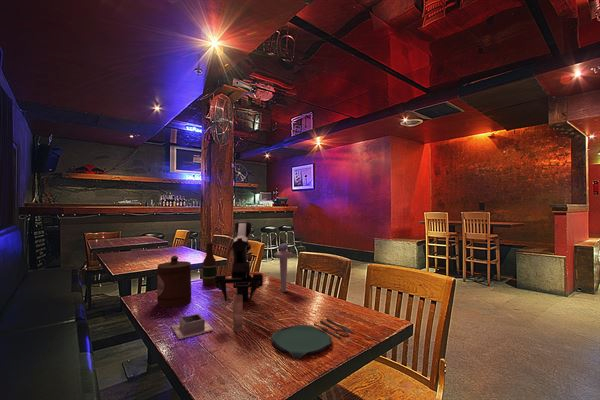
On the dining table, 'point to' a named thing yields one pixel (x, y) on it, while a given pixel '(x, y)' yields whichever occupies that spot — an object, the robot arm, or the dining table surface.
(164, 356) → the dining table surface
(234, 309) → the wooden post
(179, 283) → the wooden container
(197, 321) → the cup bracket
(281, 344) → the cutlery set
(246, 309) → the dining table surface
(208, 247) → the beer bottle
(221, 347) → the dining table surface
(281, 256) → the novelty light stick
